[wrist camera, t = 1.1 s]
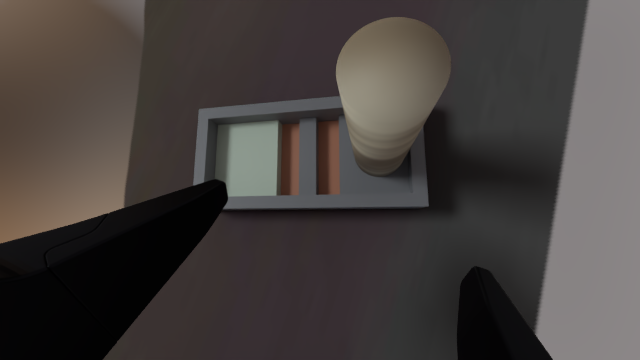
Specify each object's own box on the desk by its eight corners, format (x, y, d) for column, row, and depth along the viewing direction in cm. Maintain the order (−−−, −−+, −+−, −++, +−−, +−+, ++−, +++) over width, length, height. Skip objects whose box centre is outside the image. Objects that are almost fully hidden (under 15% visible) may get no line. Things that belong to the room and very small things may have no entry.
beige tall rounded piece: (405, 175, 20) (455, 115, 8) (354, 177, 21) (336, 124, 9) (402, 127, 21) (446, 9, 9) (353, 131, 21) (335, 25, 10)
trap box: (420, 208, 21) (428, 206, 18) (212, 210, 24) (191, 209, 22) (414, 105, 22) (420, 88, 19) (218, 121, 26) (199, 109, 23)
